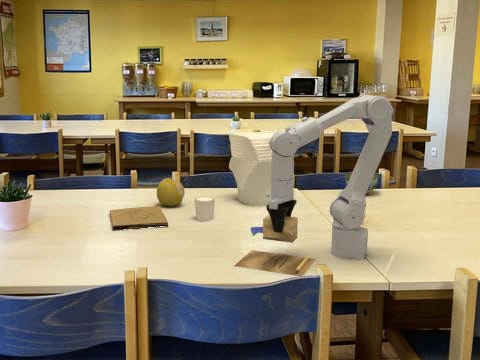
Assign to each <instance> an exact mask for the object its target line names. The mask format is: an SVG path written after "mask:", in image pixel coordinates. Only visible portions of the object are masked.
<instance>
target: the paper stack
mask: <svg viewBox="0 0 480 360" xmlns="http://www.w3.org/2000/svg"><path fill="white" fill-rule="evenodd" d="M274 133H275V132H271V131H252V132H247V131H246V132H229V133H228V136H229V137H228V138H229V142H230V152H231V157H230V160H229V165H228V168H229V170H230V171H231V172H232V174H233V176H234V179H235V183H236V187H237V189H236V190H237V192H238V193H237V195H238V201H239V202H241V203H242V204H245V205H250V206H260V205H261V206H262V205H264V206H265V205H266V206H267V205H268V204H269V201H270V197H267V194H268V193H271V164H272V150H271V148H270V146H269V141H270V139H271V137H272V136H273V134H274Z"/></svg>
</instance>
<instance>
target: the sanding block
mask: <svg viewBox="0 0 480 360" xmlns="http://www.w3.org/2000/svg"><path fill="white" fill-rule="evenodd" d="M298 219H299V218H298V217H295V216H291V217H288V216H286V217H285V221H284V227H283V231H282V233H278V232H274V230H273V226H272V221H271V217H270V215H269V214H267V215H266V216H265V217H263V219H262V227H263V233H262V239H263V240H268V241H269V240H270V241H277V242H284V243H294V242H295V241H296V240H297V238H298V228H299V227H298V224H299V221H298Z"/></svg>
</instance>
